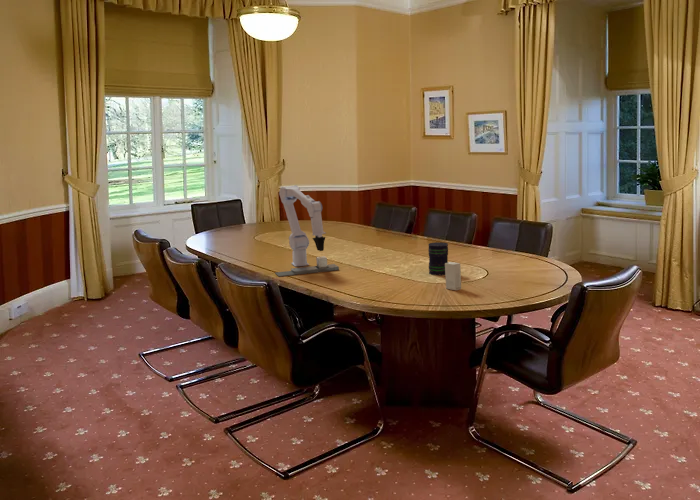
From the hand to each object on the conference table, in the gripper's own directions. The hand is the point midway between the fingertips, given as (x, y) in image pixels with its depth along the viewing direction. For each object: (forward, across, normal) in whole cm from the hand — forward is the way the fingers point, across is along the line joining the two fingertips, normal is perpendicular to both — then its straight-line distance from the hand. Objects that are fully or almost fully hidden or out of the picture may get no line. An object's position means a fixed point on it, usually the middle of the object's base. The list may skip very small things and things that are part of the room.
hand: (320, 250), depth 362 cm
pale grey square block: (+11, +2, 0) cm, 11 cm away
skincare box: (+23, -57, -51) cm, 80 cm away
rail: (+10, +2, +4) cm, 11 cm away
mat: (+10, -1, +20) cm, 22 cm away
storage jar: (+18, -25, -55) cm, 63 cm away
